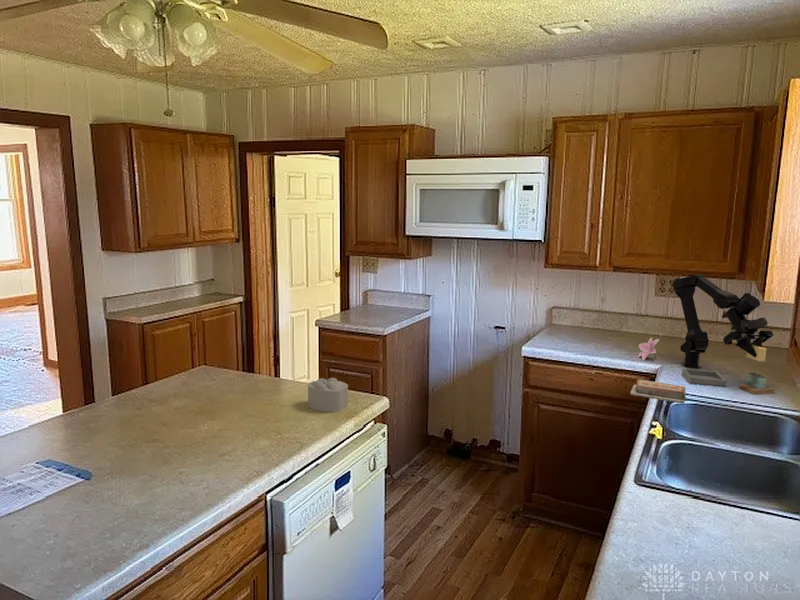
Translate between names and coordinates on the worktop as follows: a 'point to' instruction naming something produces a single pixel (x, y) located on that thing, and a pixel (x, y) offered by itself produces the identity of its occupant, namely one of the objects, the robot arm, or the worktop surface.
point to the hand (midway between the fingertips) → (759, 356)
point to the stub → (758, 354)
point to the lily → (647, 348)
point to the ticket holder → (756, 384)
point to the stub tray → (704, 377)
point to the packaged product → (659, 391)
